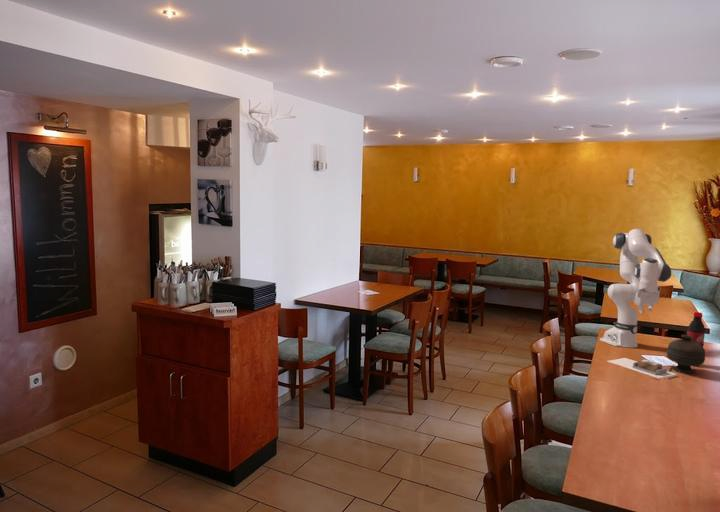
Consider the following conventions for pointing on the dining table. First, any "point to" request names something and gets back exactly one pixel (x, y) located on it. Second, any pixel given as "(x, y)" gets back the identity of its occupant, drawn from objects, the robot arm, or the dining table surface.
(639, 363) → the frame
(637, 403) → the dining table surface
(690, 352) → the pot
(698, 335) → the cola bottle
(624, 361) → the wall panel
